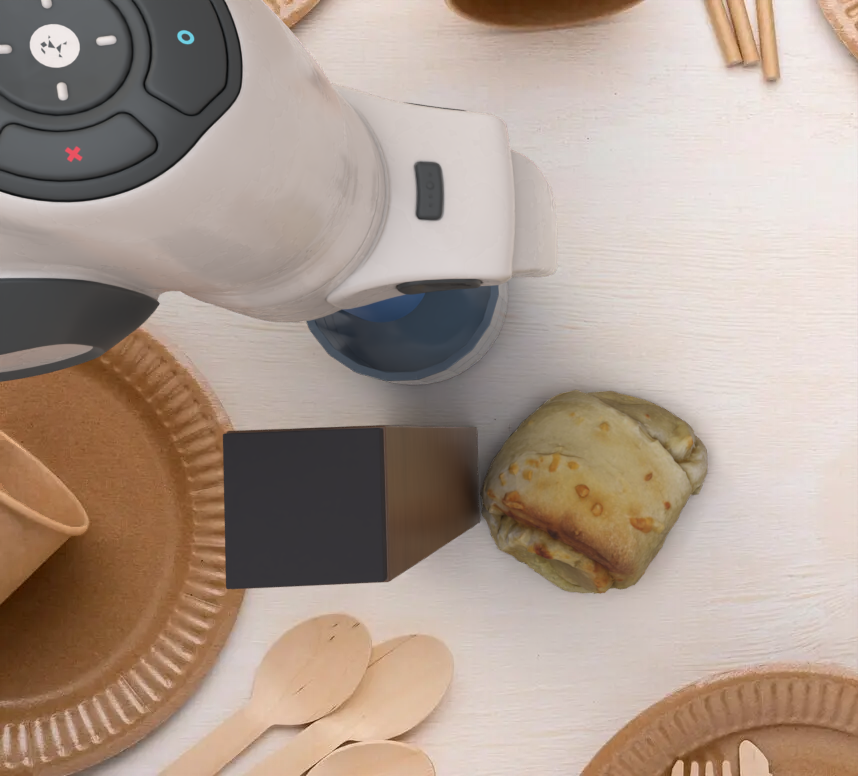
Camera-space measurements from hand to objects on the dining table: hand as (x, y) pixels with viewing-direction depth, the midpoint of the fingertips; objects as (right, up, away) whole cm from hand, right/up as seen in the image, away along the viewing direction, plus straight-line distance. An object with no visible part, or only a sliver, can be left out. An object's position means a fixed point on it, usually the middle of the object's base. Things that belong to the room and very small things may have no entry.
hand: (361, 261), depth 53 cm
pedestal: (0, -12, +13) cm, 18 cm away
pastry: (+11, -13, +14) cm, 22 cm away
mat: (+2, -11, -13) cm, 17 cm away
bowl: (-1, 0, +13) cm, 13 cm away
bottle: (0, 0, +5) cm, 5 cm away
